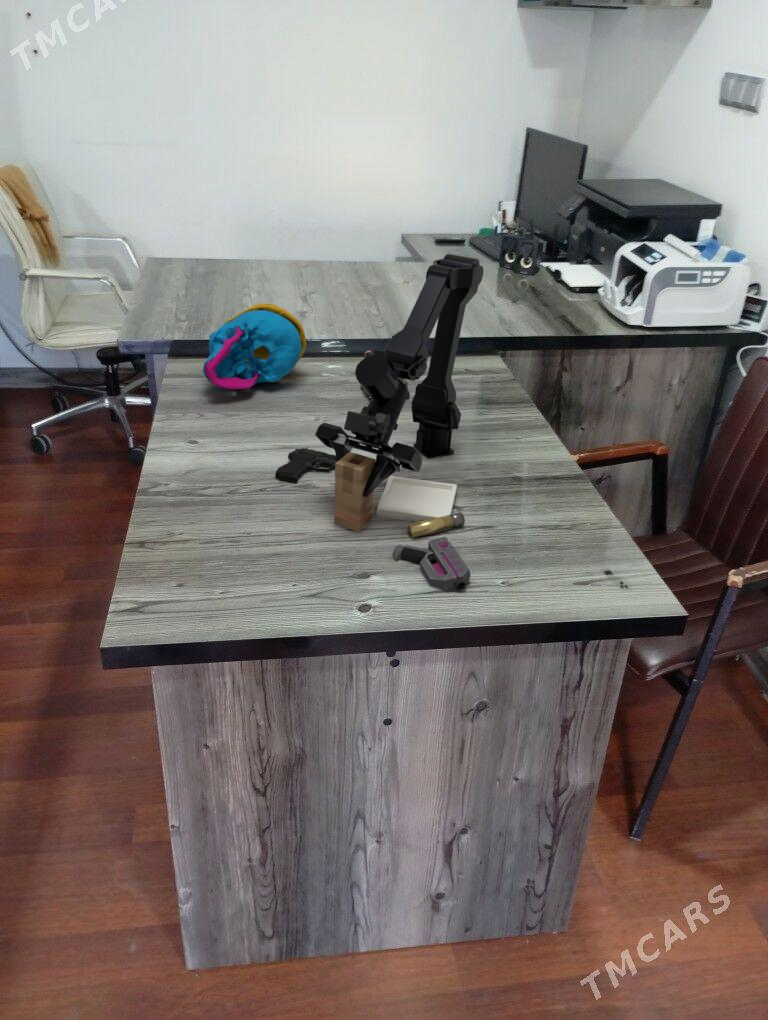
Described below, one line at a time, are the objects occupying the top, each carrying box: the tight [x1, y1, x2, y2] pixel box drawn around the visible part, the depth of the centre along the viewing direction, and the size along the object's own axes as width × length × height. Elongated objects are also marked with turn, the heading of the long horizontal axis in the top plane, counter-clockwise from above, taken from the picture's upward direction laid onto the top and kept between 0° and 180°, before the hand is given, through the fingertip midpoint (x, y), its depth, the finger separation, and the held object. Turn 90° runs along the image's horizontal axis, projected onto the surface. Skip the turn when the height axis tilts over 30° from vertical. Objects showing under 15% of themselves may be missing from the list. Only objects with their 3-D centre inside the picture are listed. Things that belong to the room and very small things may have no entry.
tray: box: [376, 475, 458, 523], centre depth 154 cm, size 13×13×2 cm
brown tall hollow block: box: [333, 451, 376, 533], centre depth 144 cm, size 5×5×12 cm
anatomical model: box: [202, 302, 307, 390], centre depth 195 cm, size 18×25×25 cm
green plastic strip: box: [604, 570, 629, 589], centre depth 136 cm, size 6×1×2 cm
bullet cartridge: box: [406, 511, 466, 539], centre depth 146 cm, size 10×2×2 cm, turn 118°
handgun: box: [274, 447, 336, 485], centre depth 163 cm, size 3×17×12 cm
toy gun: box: [393, 536, 471, 592], centre depth 136 cm, size 14×3×10 cm
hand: (350, 492), depth 143 cm, fingers closed on brown tall hollow block, 5 cm apart
